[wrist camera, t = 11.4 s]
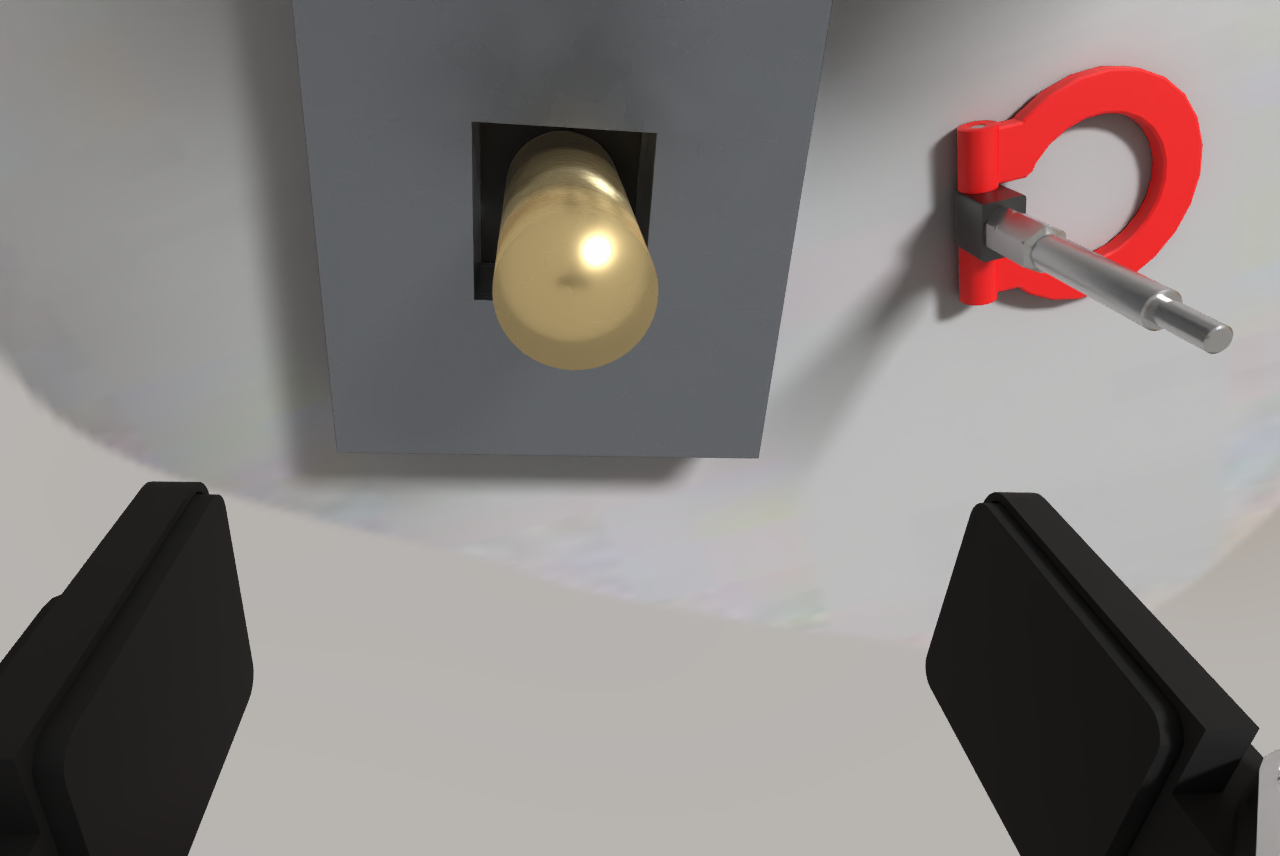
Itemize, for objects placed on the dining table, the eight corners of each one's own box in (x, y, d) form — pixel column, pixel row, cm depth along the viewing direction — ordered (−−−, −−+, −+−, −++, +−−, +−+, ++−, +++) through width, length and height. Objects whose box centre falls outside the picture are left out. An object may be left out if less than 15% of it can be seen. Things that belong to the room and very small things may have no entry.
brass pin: (506, 126, 29) (492, 207, 20) (623, 134, 30) (665, 216, 20) (505, 242, 31) (492, 368, 22) (615, 247, 32) (651, 372, 22)
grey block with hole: (299, -285, 24) (258, -328, 20) (827, -224, 26) (873, -253, 22) (358, 400, 34) (337, 452, 30) (736, 409, 35) (758, 458, 32)
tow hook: (1194, 40, 31) (945, 99, 30) (1598, 83, 20) (1211, 178, 19) (1169, 263, 35) (949, 317, 35) (1491, 404, 24) (1170, 487, 23)
